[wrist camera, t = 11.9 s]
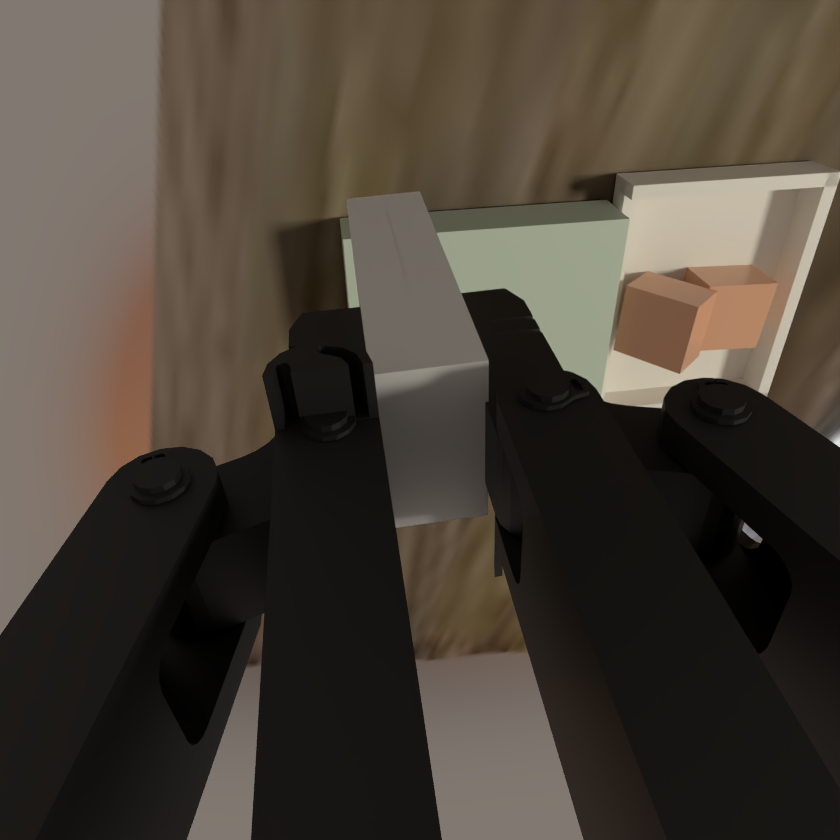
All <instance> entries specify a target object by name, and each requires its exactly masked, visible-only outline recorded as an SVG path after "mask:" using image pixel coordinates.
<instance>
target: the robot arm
mask: <svg viewBox="0 0 840 840" xmlns="http://www.w3.org/2000/svg"><path fill="white" fill-rule="evenodd" d="M346 203H347V211H348V219H349V227H350V235H351V243H352V251H353V259H354V267H355V275H356V283H357V291H358V299H359V307H354V308H345V309H337V310H328V311H319V312H310V313H302V314H301V316H300V317H299V318H298V319H297V321H296V322H295V323H294V325H293V326H292V327H291V328H290V330H289V350H287V351H285V352H282V353H280V354H279V355H278V356H276V357H275V358H274V359H273V360H272V361H271V362H269V363H268V364H267V366H266V369H265V371H264V373H263V375H262V377H263V381H264V385H265V389H266V394H267V398H268V402H269V406H270V410H271V414H272V419H273V423H274V427H275V437H274V438H273V439H272V440H271V441H270V442H269V443H267V444H266V445H264V446H263V447H261V448H260V449H258V450H257V451H255V452H252V453H250V454H248V455H246V456H243V457H241V458H238V459H235V460H232V461H230V462H227V463H224V464H221V465H218V466H216V465H215V462H214V460H213V458H212V457H210V456H209V455H207V454H206V453H204V452H202V451H201V450H198V449H192V448H186V447H175V448H165V449H159V450H156V451H153V452H150V453H147V454H144V455H141V456H139V457H137V458H136V459H134V460H132V461H131V462H129V463H127V464H126V465H124V466H122V467H121V468H120V469H119V470H118V471H117V472H116V473H115V474H114V475H113V476H112V477H111V478H110V479H109V480H108V481H107V482H106V484H105V485H104V487H103V488H102V489H101V491H100V492H99V494H98V495H97V497H96V498H95V500H94V501H93V503H92V504H91V505H90V507H89V508H88V510H87V511H86V512H85V514H84V515H83V517H82V518H81V520H80V521H79V523H78V524H77V525H76V527H75V528H74V530H73V531H72V533H71V534H70V536H69V537H68V539H67V540H66V541H65V543H64V544H63V546H62V547H61V549H60V550H59V552H58V553H57V554H56V556H55V557H54V559H53V560H52V561H51V563H50V564H49V566H48V567H47V569H46V570H45V571H44V573H43V574H42V576H41V578H40V579H39V580H38V582H37V583H36V584H35V586H34V587H33V589H32V590H31V592H30V593H29V595H28V596H27V597H26V599H25V600H24V602H23V603H22V605H21V606H20V608H19V609H18V610H17V612H16V613H15V615H14V616H13V618H12V619H11V620H10V622H9V623H8V625H7V626H6V628H5V629H4V631H3V632H2V633H1V635H0V840H187V837H188V834H189V831H190V828H191V825H192V822H193V820H194V816H195V814H196V810H197V808H198V805H199V802H200V799H201V796H202V793H203V790H204V788H205V784H206V782H207V779H208V776H209V773H210V770H211V767H212V764H213V761H214V758H215V756H216V752H217V750H218V746H219V744H220V741H221V738H222V735H223V732H224V729H225V726H226V723H227V721H228V717H229V715H230V712H231V709H232V706H233V703H234V700H235V697H236V694H237V691H238V688H239V685H240V683H241V680H242V677H243V674H244V671H245V668H246V665H247V662H248V659H249V657H250V654H251V651H252V648H253V645H254V642H255V639H256V636H257V633H258V630H259V627H260V625H261V616H262V614H263V613H265V614H264V631H263V647H262V664H261V682H260V699H259V715H258V732H257V750H256V766H255V784H254V800H253V817H252V835H251V840H442V838H441V831H440V824H439V818H438V811H437V804H436V797H435V791H434V785H433V777H432V770H431V763H430V757H429V750H428V743H427V737H426V730H425V723H424V716H423V709H422V703H421V696H420V690H419V682H418V676H417V669H416V662H415V655H414V648H413V642H412V635H411V628H410V621H409V615H408V608H407V601H406V594H405V588H404V581H403V574H402V567H401V561H400V554H399V547H398V540H397V534H396V528H397V527H404V526H411V525H419V524H426V523H433V522H440V521H448V520H455V519H462V518H469V517H476V516H484V515H488V493H489V496H490V499H491V502H492V505H493V508H494V512H495V555H494V569H495V577H497V576H502V566H503V569H504V573H505V576H506V579H507V583H508V586H509V590H510V593H511V596H512V600H513V603H514V606H515V610H516V613H517V617H518V620H519V623H520V627H521V630H522V633H523V637H524V640H525V644H526V647H527V650H528V654H529V657H530V660H531V664H532V667H533V670H534V674H535V677H536V680H537V684H538V687H539V691H540V694H541V697H542V701H543V704H544V707H545V711H546V714H547V717H548V721H549V724H550V728H551V731H552V734H553V738H554V741H555V745H556V748H557V751H558V754H559V758H560V761H561V765H562V768H563V772H564V775H565V778H566V781H567V785H568V788H569V792H570V795H571V798H572V802H573V805H574V808H575V812H576V815H577V819H578V822H579V825H580V829H581V832H582V836H583V838H584V840H840V447H838V446H837V445H835V444H834V443H833V442H831V441H830V440H828V439H827V438H825V437H824V436H823V435H821V434H820V433H818V432H817V431H815V430H814V429H812V428H811V427H810V426H808V425H807V424H805V423H804V422H802V421H801V420H799V419H798V418H797V417H795V416H794V415H792V414H791V413H789V412H788V411H786V410H785V409H784V408H782V407H781V406H779V405H778V404H776V403H775V402H774V401H772V400H771V399H769V398H768V397H766V396H765V395H763V394H762V393H760V392H758V391H756V390H754V389H752V388H750V387H748V386H746V385H744V384H740V383H737V382H733V381H729V380H726V379H720V378H697V379H691V380H684V381H682V382H680V383H678V384H676V385H674V386H672V387H671V388H670V389H669V391H668V392H667V393H666V395H665V396H664V399H663V404H662V408H653V407H640V406H627V405H620V404H613V403H609V402H605V401H604V400H603V399H602V397H601V395H600V394H599V392H598V390H597V389H596V388H595V387H594V386H593V385H592V384H591V383H590V382H589V381H588V380H587V379H585V378H583V377H581V376H579V375H577V374H575V373H573V372H570V371H565V370H563V368H562V367H561V365H560V363H559V361H558V359H557V358H556V356H555V354H554V352H553V351H552V349H551V347H550V345H549V344H548V342H547V340H546V338H545V336H544V335H543V333H542V332H540V328H539V326H538V324H537V322H536V321H535V319H533V315H532V314H531V312H530V310H529V308H528V306H527V305H526V303H525V301H524V300H523V299H521V298H520V297H518V296H516V295H515V294H513V293H512V292H510V291H508V290H507V289H505V288H502V289H493V290H484V291H475V292H466V293H461V291H460V289H459V287H458V284H457V282H456V279H455V277H454V274H453V272H452V269H451V267H450V265H449V262H448V260H447V257H446V255H445V252H444V250H443V247H442V245H441V243H440V240H439V238H438V235H437V233H436V230H435V228H434V225H433V223H432V221H431V218H430V216H429V213H428V211H427V208H426V206H425V203H424V201H423V199H422V196H421V194H420V191H418V192H409V193H399V194H389V195H379V196H370V197H360V198H350V199H346ZM744 522H745V523H746V524H747V525H748V526H749V527H750V528H751V529H752V530H754V531H755V532H756V533H757V534H758V535H759V536H760V537H761V538H762V539H763V540H762V542H761V543H758V542H756V541H754V540H753V539H751V538H750V537H749V536H748V535H747V534H746V533H744V532H743V531H742V528H743V525H744Z"/></svg>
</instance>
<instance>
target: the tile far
mask: <svg viewBox="0 0 840 840" xmlns="http://www.w3.org/2000/svg"><path fill="white" fill-rule="evenodd" d="M684 282H687V283H691V284H694V285H698V286H701V287H705V288H708V289H712V290H715V291H718V293H717V296H716V299H715V303H714V306H713V310H712V313H711V316H710V320H709V323H708V327H707V330H706V333H705V337H704V340H703V343H702V347H701V350H700V351H705V350H723V349H740V348H756V346H757V343H758V340H759V337H760V334H761V332H762V329H763V326H764V323H765V320H766V317H767V314H768V312H769V309H770V306H771V303H772V300H773V297H774V294H775V292H776V289H777V286H778V283H777V282H776V281H774V280H773V279H772V278H770V277H769V276H767V275H766V274H764V273H763V272H762V271H760V270H759V269H757V268H756V267H754V266H753V265H730V266H705V267H687V270H686V274H685V277H684Z"/></svg>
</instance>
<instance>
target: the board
mask: <svg viewBox="0 0 840 840" xmlns="http://www.w3.org/2000/svg"><path fill="white" fill-rule="evenodd" d="M428 213H429V216H430V218H431V221H432V223H433V225H434V228H435V230H436V233H437V235H438V238H439V240H440V243H441V245H442V247H443V250H444V252H445V255H446V257H447V260H448V262H449V265H450V267H451V269H452V272H453V274H454V277H455V279H456V282H457V284H458V287H459V289H460V291H461V293H466V292H475V291H484V290H493V289H502V288H505V289H507V290H508V291H510V292H512V293H513V294H515V295H516V296H518V297H520V298H521V299H523V300H524V301H525V303H526V305H527V306H528V308H529V310H530V312H531V314H532V315H533V319H535V321H536V322H537V324H538V326H539V328H540V332H542V333H543V335H544V336H545V338H546V340H547V342H548V344H549V345H550V347H551V349H552V351H553V352H554V354H555V356H556V358H557V359H558V361H559V363H560V365H561V367H562V368H563V370H565V371H570V372H573V373H575V374H577V375H579V376H581V377H583V378H585V379H587V380H588V381H589V382H590V383H591V384H592V385H593V386H594V387H595V388H596V389H597V390H598V392H599V394H600V395H601V393H602V387H603V381H604V375H605V368H606V362H607V356H608V350H609V344H610V338H611V332H612V325H613V319H614V313H615V307H616V301H617V295H618V288H619V282H620V276H621V270H622V264H623V258H624V252H625V245H626V239H627V233H628V227H629V221H630V218H628V217H627V216H626V215H625V214H623V213H622V212H621V211H620V210H619V209H617V208H616V207H615V206H614V205H613V204H611V203H610V202H609V201H608V200H594V201H579V202H565V203H550V204H535V205H521V206H506V207H492V208H477V209H463V210H448V211H434V212H428ZM340 227H341V238H342V249H343V260H344V271H345V282H346V293H347V304H348V308H354V307H359V299H358V291H357V283H356V275H355V267H354V259H353V251H352V243H351V235H350V227H349V219H348V217H347V218H340Z"/></svg>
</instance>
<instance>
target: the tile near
mask: <svg viewBox="0 0 840 840" xmlns="http://www.w3.org/2000/svg"><path fill="white" fill-rule="evenodd" d="M717 293H718V291H715V290H712V289H708V288H705V287H701V286H698V285H694V284H691V283H687V282H684V281H680V280H677V279H673V278H670V277H666V276H663V275H659V274H656V273H653V272H649V271H648V272H646V273H645V274H643V275H642V276H640V277H639V278H637V279H636V280H634V281H633V282H631V283H629V284H628V285H627V286H626V291H625V296H624V301H623V305H622V310H621V315H620V320H619V324H618V329H617V334H616V339H615V344H614V348H613V350H615V351H617V352H620V353H623V354H626V355H628V356H631V357H634V358H637V359H639V360H642V361H645V362H648V363H650V364H653V365H656V366H659V367H662V368H664V369H667V370H670V371H673V372H675V373H678V374H680V373H682V372H683V371H684V370H685V369H686V368H687V367H688V366H689V365H690V364H691V363H692V362H693V361H694V360H695V359H696V358H697V357H698V356H699V354H700V350H701V347H702V343H703V340H704V337H705V333H706V330H707V327H708V323H709V320H710V316H711V313H712V310H713V306H714V303H715V299H716V296H717Z"/></svg>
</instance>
